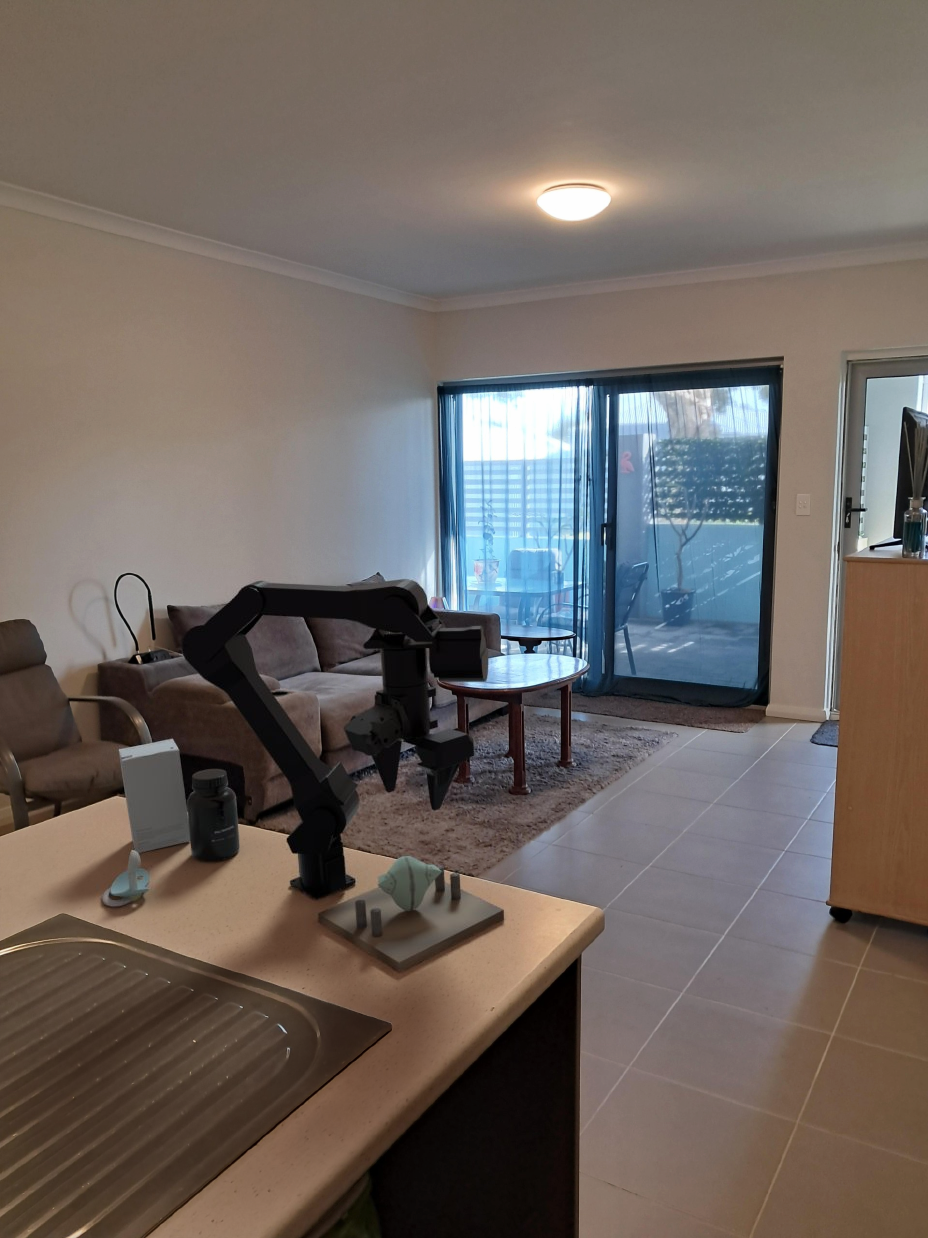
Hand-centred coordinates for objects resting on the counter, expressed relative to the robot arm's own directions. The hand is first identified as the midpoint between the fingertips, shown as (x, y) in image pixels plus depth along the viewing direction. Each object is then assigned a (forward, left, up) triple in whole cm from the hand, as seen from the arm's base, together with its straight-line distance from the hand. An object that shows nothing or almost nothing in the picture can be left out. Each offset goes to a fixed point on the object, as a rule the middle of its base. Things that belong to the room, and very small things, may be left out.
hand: (412, 800), depth 120 cm
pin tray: (+6, -6, -12) cm, 15 cm away
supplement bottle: (-30, -13, -12) cm, 35 cm away
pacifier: (-27, -28, -12) cm, 40 cm away
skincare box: (-40, -17, -12) cm, 45 cm away
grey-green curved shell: (+6, -6, -11) cm, 14 cm away
